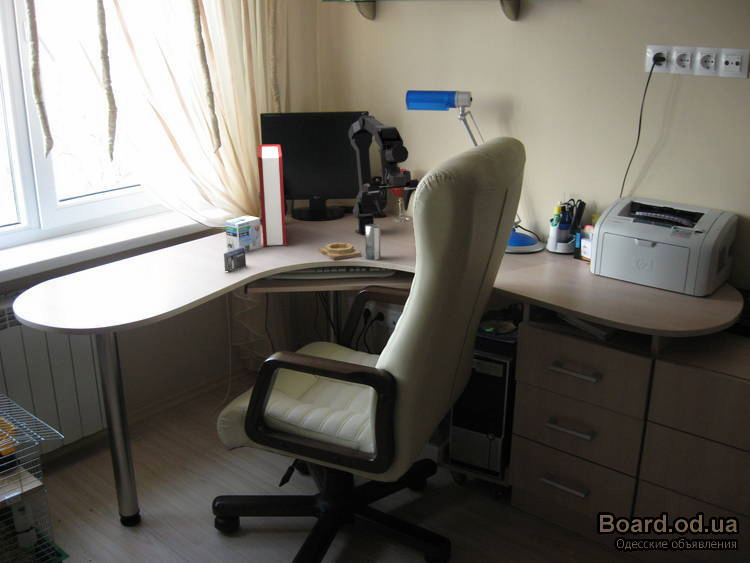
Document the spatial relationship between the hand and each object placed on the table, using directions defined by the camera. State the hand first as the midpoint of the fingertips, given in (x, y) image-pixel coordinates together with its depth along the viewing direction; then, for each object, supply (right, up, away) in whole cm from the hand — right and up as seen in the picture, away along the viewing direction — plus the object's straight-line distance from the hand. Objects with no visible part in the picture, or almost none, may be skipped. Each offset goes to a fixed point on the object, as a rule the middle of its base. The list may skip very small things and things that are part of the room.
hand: (393, 211), depth 249 cm
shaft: (-7, -16, -3) cm, 17 cm away
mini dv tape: (-51, -20, -13) cm, 56 cm away
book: (-43, -7, +23) cm, 50 cm away
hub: (-18, -14, +2) cm, 23 cm away
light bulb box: (-52, -13, +8) cm, 54 cm away
